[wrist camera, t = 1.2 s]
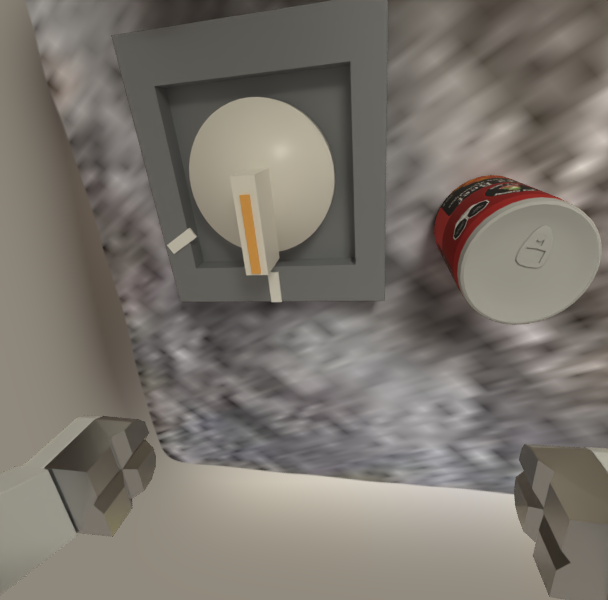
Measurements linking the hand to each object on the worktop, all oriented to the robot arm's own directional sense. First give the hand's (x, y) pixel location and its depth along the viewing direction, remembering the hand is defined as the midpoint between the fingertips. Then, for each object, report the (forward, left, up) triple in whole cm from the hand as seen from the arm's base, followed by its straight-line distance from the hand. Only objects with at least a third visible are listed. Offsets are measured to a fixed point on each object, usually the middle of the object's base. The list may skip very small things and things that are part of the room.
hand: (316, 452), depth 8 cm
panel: (-3, -8, -27) cm, 29 cm away
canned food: (+2, +10, -28) cm, 30 cm away
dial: (-3, -8, -26) cm, 27 cm away
